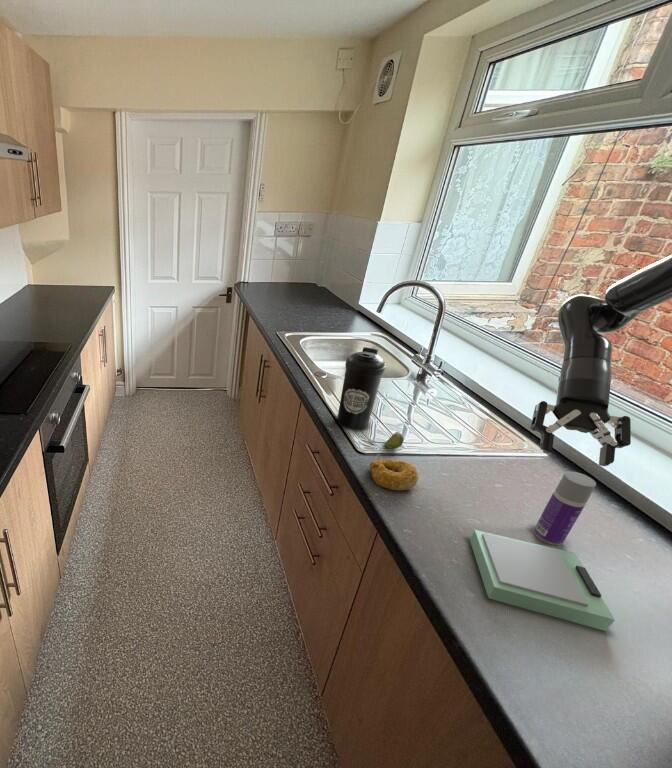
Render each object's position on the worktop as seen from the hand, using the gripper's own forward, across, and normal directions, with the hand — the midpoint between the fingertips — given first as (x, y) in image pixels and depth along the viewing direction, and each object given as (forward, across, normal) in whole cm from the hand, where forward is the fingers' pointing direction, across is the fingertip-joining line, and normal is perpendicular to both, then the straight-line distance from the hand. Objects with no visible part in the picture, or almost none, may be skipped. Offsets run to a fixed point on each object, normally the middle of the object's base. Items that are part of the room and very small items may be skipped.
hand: (575, 458), depth 82 cm
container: (+15, 0, +8) cm, 17 cm away
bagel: (+12, -29, +11) cm, 33 cm away
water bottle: (-5, -41, +28) cm, 50 cm away
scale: (+26, -5, -3) cm, 26 cm away
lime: (+2, -30, +22) cm, 37 cm away
